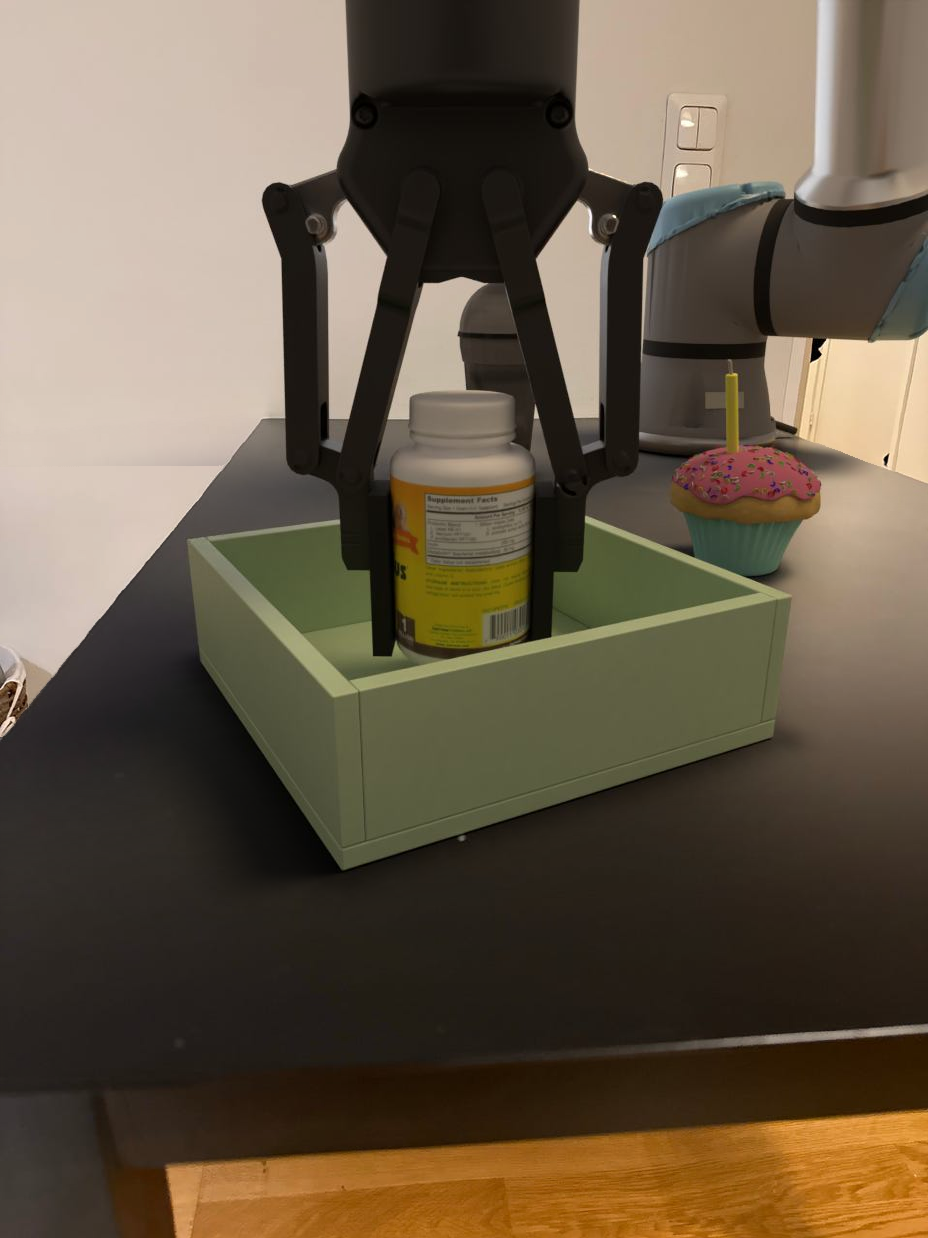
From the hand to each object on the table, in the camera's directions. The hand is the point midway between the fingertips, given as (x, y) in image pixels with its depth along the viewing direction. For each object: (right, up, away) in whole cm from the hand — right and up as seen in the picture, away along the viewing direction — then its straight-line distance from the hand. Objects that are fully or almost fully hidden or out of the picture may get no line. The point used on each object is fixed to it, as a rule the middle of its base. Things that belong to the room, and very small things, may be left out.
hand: (462, 643), depth 38 cm
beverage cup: (+3, +13, +41) cm, 43 cm away
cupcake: (+16, +4, +18) cm, 25 cm away
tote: (0, -2, +1) cm, 2 cm away
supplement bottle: (0, 0, 0) cm, 1 cm away
